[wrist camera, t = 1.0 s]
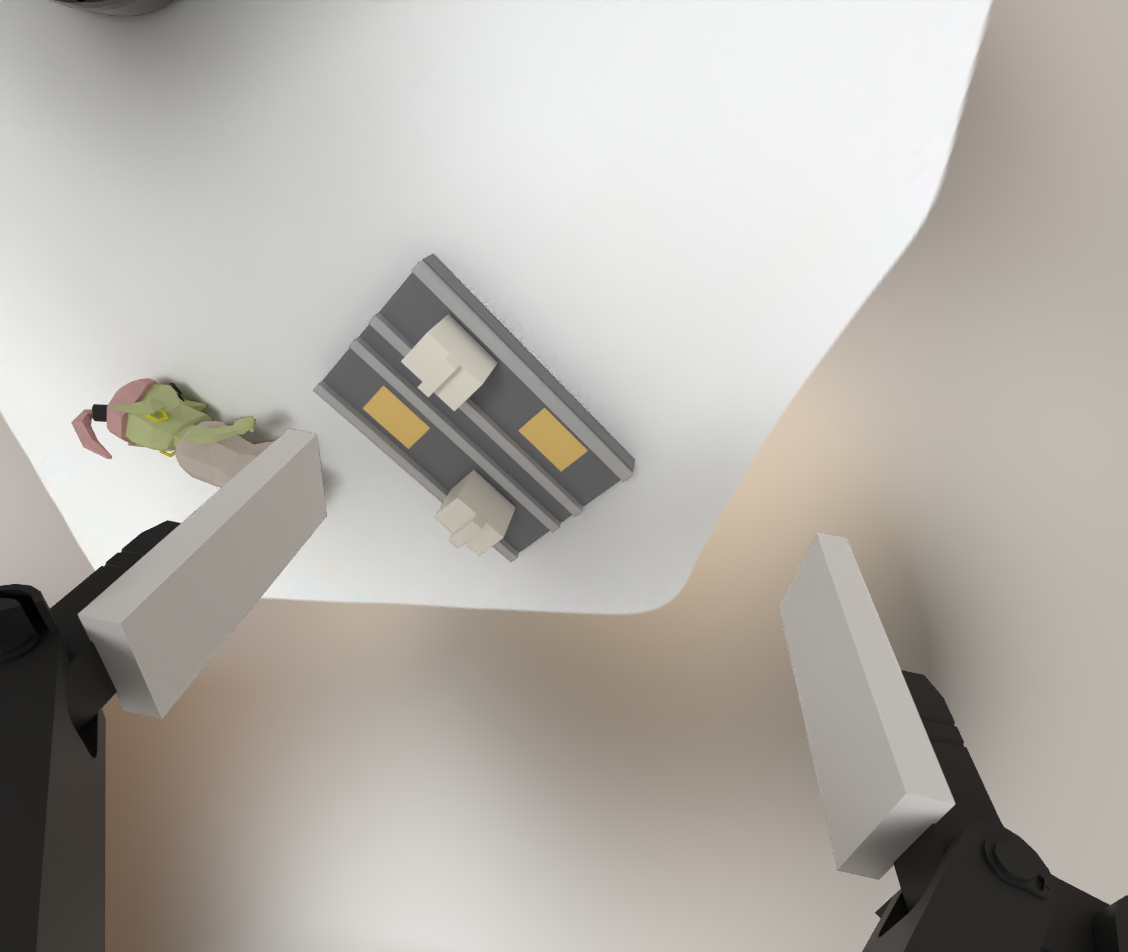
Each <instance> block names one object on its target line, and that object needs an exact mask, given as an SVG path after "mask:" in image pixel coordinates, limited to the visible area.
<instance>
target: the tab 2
mask: <svg viewBox="0 0 1128 952" xmlns="http://www.w3.org/2000/svg"><path fill="white" fill-rule="evenodd" d="M515 508H516V507H515V506H514V505H512V504H511V503H510V502H509V501H508V500H507V499H506V498H505V497H504V496H503V495H501V494H500V493H499V492H498V491H497V490H496V489H495V488H494V487H493V486H492V485H490V484H489V483H488V482H487V481H486V480H485V479H484V478H483V477H482V476H481V475H479V474H478V473H477V472H476V471H475V470H473V471H471V472H470V473H469V474H468V475H467V476H466V477H464V478H463V479H462V480H461V481H460V482H459V483H458V484H456V485H455V486H454V487H453V488H452V489H451V490H450V492H449V494H448V495H447V497H446V499H445V500H444V502H443V504H442V505H441V507H440V509H439V510H438V512H437V513H436V515H435V517H434V518H435V519H436V520H438V521H439V522H440V523H441V524H442V525H443V526H445V527H446V528H447V529H448V530H449V531H450V532H452V535H451V537H450V539H449V540H448V541H449V542H451V543H452V544H453V545H454V546H455V547H457V548H459V547H460V546H461V545H463V544H466V545H467V546H468V547H469V548H470V549H471V550H473V551H474V552H475V553H476V554H477V555H479V556H480V555H481V554H482V553H484V552H485V551H486V550H488V549H489V548H490V547H492V546H493V545H494V544H496V543H497V542H498V541H500V540H501V539H502V538H504V535H505V533H506V530H507V528H508V525H509V523H510V521H511V518H512V516H513V513H514V511H515Z"/></svg>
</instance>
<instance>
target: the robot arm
mask: <svg viewBox="0 0 1128 952" xmlns="http://www.w3.org/2000/svg"><path fill="white" fill-rule="evenodd" d="M50 1H53V2H55V3H58V4H61V5H64V6H68V7H71V8H76V9H81V10H87V11H92V12H97V13H103V14H108V15H114V16H136V15H143V14H147V13H151V12H153V11H156V10H158V9H160V8H162V7H164V6H166V5H168V4H169V3H171V2H172V1H174V0H50ZM326 516H327V512H326V504H325V496H324V487H323V479H322V471H321V463H320V455H319V446H318V438H317V434H314V433H309V432H304V431H299V430H294V429H288V430H287V431H286V432H285V433H284V434H282V435H281V436H280V437H279V438H278V439H277V440H276V441H274V442H273V443H272V444H271V445H270V446H269V447H268V448H266V449H265V450H264V451H263V452H262V453H261V454H260V455H259V456H257V457H256V458H255V459H254V460H253V461H252V462H251V463H249V464H248V465H247V466H246V467H245V468H244V469H243V470H241V471H240V472H239V473H238V474H237V475H236V476H235V477H233V478H232V479H231V480H230V481H229V482H228V483H227V484H225V485H224V486H223V487H222V488H221V489H220V490H219V491H217V492H216V493H215V494H214V495H213V496H212V497H211V498H209V499H208V500H207V501H206V502H205V503H204V504H203V505H202V506H200V507H199V508H198V509H197V510H196V511H195V512H194V513H192V514H191V515H190V516H189V517H188V518H187V519H186V520H184V521H183V522H182V523H178V522H173V521H168V520H167V521H165V522H163V523H161V524H159V525H157V526H155V527H153V528H151V529H149V530H146V531H144V532H142V533H141V534H140V535H138V536H137V537H136V538H135V539H133V540H132V541H131V542H130V543H129V544H127V545H126V546H125V547H124V548H123V549H122V552H121V553H117V554H115V555H114V556H113V557H112V558H111V559H109V560H108V561H107V562H106V565H105V566H101V567H100V568H99V569H97V570H96V571H95V572H94V573H92V574H91V575H90V576H89V577H88V578H86V579H85V580H84V581H83V582H82V583H81V584H79V585H78V586H77V587H76V588H74V589H73V590H72V591H71V592H70V593H68V594H67V595H66V596H65V597H64V598H62V599H61V600H60V601H59V602H58V603H56V604H55V605H54V606H53V607H52V608H49V607H48V605H47V603H46V601H45V599H44V597H43V595H42V593H41V591H39V590H37V589H36V588H34V587H32V586H29V585H21V584H11V585H3V586H0V952H105V746H106V744H105V740H106V739H105V738H106V736H105V735H106V731H105V730H106V719H105V716H104V713H103V710H102V707H103V706H104V705H105V704H106V703H107V702H108V701H109V700H110V698H111V697H112V696H113V695H114V694H115V693H116V694H117V696H118V698H119V700H120V702H121V704H122V706H123V708H124V710H125V711H127V712H131V713H136V714H140V715H145V716H150V717H154V718H158V719H162V718H163V717H164V716H165V715H166V714H167V712H168V711H169V710H170V709H171V707H172V706H173V705H174V704H175V703H176V701H177V700H178V699H179V698H180V696H181V695H182V694H183V693H184V691H185V690H186V689H187V688H188V686H189V685H190V684H191V683H192V681H193V680H194V679H195V678H196V677H197V675H198V674H199V673H200V672H201V670H202V669H203V668H204V667H205V666H206V664H207V663H208V662H209V661H210V659H211V658H212V657H213V656H214V654H215V653H216V652H217V651H218V649H219V648H220V647H221V646H222V645H223V643H224V642H225V641H226V640H227V638H228V637H229V636H230V635H231V633H232V632H233V631H234V630H235V628H236V627H237V626H238V625H239V624H240V622H241V621H242V620H243V619H244V617H245V616H246V615H247V614H248V612H249V611H250V610H251V609H252V608H253V606H254V605H255V604H256V603H257V601H258V600H259V599H260V598H261V597H262V595H263V594H264V593H265V592H266V590H267V589H268V588H269V587H270V585H271V584H272V583H273V582H274V581H275V579H276V578H277V577H278V576H279V574H280V573H281V572H282V571H283V569H284V568H285V567H286V566H287V565H288V563H289V562H290V561H291V560H292V558H293V557H294V556H295V555H296V553H297V552H298V551H299V550H300V548H301V547H302V546H303V545H304V544H305V542H306V541H307V540H308V539H309V537H310V536H311V535H312V534H313V532H314V531H315V530H316V529H317V528H318V526H319V525H320V524H321V523H322V521H323V520H324V519H325V518H326ZM779 609H780V614H781V618H782V623H783V628H784V632H785V637H786V641H787V646H788V650H789V655H790V659H791V664H792V669H793V673H794V678H795V682H796V686H797V691H798V696H799V700H800V705H801V709H802V714H803V718H804V723H805V727H806V732H807V736H808V741H809V745H810V750H811V754H812V759H813V763H814V768H815V773H816V777H817V781H818V786H819V791H820V795H821V799H822V804H823V809H824V813H825V818H826V822H827V827H828V831H829V836H830V840H831V845H832V849H833V854H834V858H835V863H836V868H837V870H838V871H842V872H847V873H851V874H856V875H860V876H865V877H869V878H874V879H878V880H879V879H880V878H881V877H882V876H883V875H884V874H885V873H886V872H887V871H888V870H889V869H890V868H891V867H892V866H893V865H894V866H895V870H896V873H897V876H898V880H899V883H900V887H901V889H900V890H899V891H898V892H897V893H896V894H895V895H894V896H893V897H892V898H890V899H889V900H888V901H887V902H886V903H885V904H884V905H883V906H882V907H881V908H880V909H878V910H877V911H876V912H875V913H876V914H877V915H878V916H879V917H880V918H881V919H880V921H879V923H878V924H877V926H876V928H875V930H874V932H873V933H872V935H871V937H870V939H869V941H868V942H867V944H866V946H865V948H864V949H863V951H862V952H1128V896H1125V897H1123V898H1121V899H1120V900H1118V901H1117V902H1115V903H1113V904H1112V905H1109V904H1107V903H1105V902H1103V901H1101V900H1099V899H1097V898H1095V897H1093V896H1091V895H1089V894H1087V893H1085V892H1084V891H1082V890H1080V889H1078V888H1076V887H1074V886H1072V885H1070V884H1068V883H1066V882H1064V881H1062V880H1060V879H1058V878H1057V877H1055V876H1053V875H1052V874H1050V872H1049V869H1048V868H1047V867H1046V865H1045V864H1044V862H1043V861H1042V860H1041V858H1040V857H1039V855H1038V854H1037V853H1036V852H1035V851H1034V850H1033V849H1032V848H1031V847H1030V846H1029V845H1028V844H1027V843H1026V842H1025V841H1024V840H1023V839H1022V838H1020V837H1019V836H1018V835H1016V834H1014V833H1013V832H1011V831H1010V830H1008V829H1006V828H1005V827H1004V826H1003V825H1002V823H1001V821H1000V819H999V817H998V815H997V813H996V810H995V808H994V806H993V804H992V802H991V800H990V797H989V795H988V793H987V791H986V789H985V787H984V784H983V782H982V780H981V778H980V776H979V774H978V771H977V769H976V767H975V765H974V763H973V761H972V758H971V756H970V754H969V752H968V750H967V748H966V747H964V745H963V743H964V741H963V739H962V737H961V735H960V732H959V730H958V728H957V727H955V726H954V723H955V722H954V720H953V717H952V715H951V713H950V711H949V709H948V707H947V704H946V703H945V700H944V698H943V697H942V696H941V695H940V693H939V692H938V691H937V690H936V689H935V687H934V686H933V685H932V684H931V683H930V681H928V679H927V678H926V677H925V676H924V675H921V674H916V673H912V672H907V671H903V670H900V667H899V665H898V662H897V660H896V657H895V655H894V653H893V650H892V648H891V645H890V643H889V640H888V638H887V635H886V633H885V631H884V628H883V626H882V623H881V621H880V618H879V616H878V613H877V611H876V608H875V606H874V604H873V601H872V599H871V596H870V594H869V591H868V589H867V587H866V584H865V582H864V579H863V577H862V574H861V572H860V570H859V567H858V565H857V562H856V560H855V557H854V555H853V552H852V550H851V548H850V545H849V543H848V540H847V538H844V537H839V536H834V535H829V534H823V533H819V532H816V534H815V535H814V537H813V539H812V541H811V544H810V546H809V548H808V550H807V552H806V554H805V556H804V558H803V560H802V562H801V564H800V566H799V568H798V570H797V572H796V574H795V576H794V578H793V580H792V582H791V584H790V586H789V588H788V590H787V592H786V594H785V597H784V598H783V601H782V603H781V605H780V607H779Z"/></svg>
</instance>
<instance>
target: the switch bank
mask: <svg viewBox="0 0 1128 952" xmlns="http://www.w3.org/2000/svg"><path fill="white" fill-rule="evenodd" d="M448 314H449V315H450V316H451V317H452V318H453V319H454V320H455V321H456V322H457V323H458V324H459V325H460V326H461V327H462V328H463V329H464V330H465V331H466V332H468V333H469V334H470V335H471V336H472V337H473V338H474V339H475V340H476V341H477V342H478V343H479V344H480V345H481V346H482V347H483V348H484V349H485V350H486V351H487V352H488V353H489V354H490V355H491V356H492V357H493V358H494V359H495V360H496V361H497V362H498V363H497V365H496V366H495V368H494V369H493V370H492V372H491V373H490V374H489V376H488V377H487V379H486V380H485V381H484V383H483V384H482V385H481V386H480V387H479V388H478V389H477V390H476V391H475V392H474V393H473V394H472V395H471V396H470V397H469V398H468V399H467V400H466V401H465V402H464V403H463V404H462V405H460V406H459V407H458V408H457V409H456V410H455V411H453V410H452V409H451V408H450V407H449V406H448V405H447V404H446V403H445V402H444V401H443V400H441V399H440V398H439V397H438V396H437V395H436V394H435V393H434V392H433V393H432V394H431V395H430V396H429V397H427V396H426V395H425V394H424V393H423V392H422V391H421V390H420V389H419V388H417V387H418V386H419V385H420V384H421V383H422V381H421V380H420V379H419V378H418V377H417V376H416V375H415V374H414V373H413V372H411V371H410V370H409V369H408V368H407V367H406V366H405V365H404V364H403V363H402V362H401V361H402V360H403V359H404V357H405V356H406V355H407V354H408V353H409V352H410V351H411V350H412V349H413V348H414V346H415V345H416V344H417V343H418V342H419V341H420V340H421V339H422V338H423V336H424V335H425V334H426V333H427V332H428V331H429V330H431V329H432V328H433V327H434V326H435V325H436V324H437V323H439V322H440V321H441V320H442V319H443V318H444V317H446V316H447V315H448ZM349 347H350V348H349V350H348V351H347V352H346V353H345V354H344V356H343V357H342V358H341V359H340V360H339V362H338V363H337V364H336V365H335V366H334V368H333V369H332V370H331V371H330V373H329V374H328V375H327V376H326V377H325V379H324V380H323V381H321V382H320V383H319V384H318V385H317V386H316V387H315V388H314V390H313V391H314V392H315V393H316V394H318V395H319V396H320V397H321V398H322V399H323V400H324V401H326V402H327V403H328V404H329V405H330V406H331V407H333V408H334V409H335V410H336V411H337V412H338V413H339V414H341V415H342V416H343V417H344V418H345V419H346V420H348V421H349V422H350V423H351V424H352V425H353V426H354V427H356V428H357V429H358V430H359V431H360V432H361V433H363V434H364V435H365V436H366V437H367V438H368V439H369V440H371V441H372V442H373V443H374V444H375V445H376V446H377V447H379V448H380V449H381V450H382V451H383V452H384V453H386V454H387V455H388V456H389V457H390V458H391V459H392V460H394V461H395V462H396V463H397V464H398V465H399V466H401V467H402V468H403V469H404V470H405V471H406V472H407V473H409V474H410V475H411V476H412V477H413V478H414V479H416V480H417V481H418V482H419V483H420V484H421V485H422V486H424V487H425V488H426V489H427V490H428V491H429V492H430V493H432V494H433V495H434V496H435V497H436V498H437V499H439V500H440V501H441V502H442V503H443V502H444V500H445V499H446V497H447V495H448V494H449V492H450V490H451V489H452V488H453V487H454V486H455V485H456V484H458V483H459V482H460V481H461V480H462V479H463V478H464V477H466V476H467V475H468V474H469V473H470V472H471V471H473V470H475V471H476V472H477V473H478V474H479V475H481V476H482V477H483V478H484V479H485V480H486V481H487V482H488V483H489V484H490V485H492V486H493V487H494V488H495V489H496V490H497V491H498V492H499V493H500V494H501V495H503V496H504V497H505V498H506V499H507V500H508V501H509V502H510V503H511V504H512V505H514V506H515V507H516V508H515V511H514V513H513V516H512V518H511V521H510V523H509V525H508V528H507V530H506V533H505V535H504V538H502V539H501V540H500V541H498V542H497V543H496V544H494V545H493V547H494V548H495V549H496V550H497V551H498V552H500V553H501V554H502V555H503V556H504V557H505V558H507V559H508V560H509V561H510V562H512V561H513V560H515V559H516V558H517V557H518V554H519V552H521V551H522V550H523V549H525V548H526V547H528V546H529V545H530V544H532V543H533V542H535V541H536V540H537V539H539V538H540V537H542V536H543V535H544V534H546V533H547V532H549V531H551V532H552V533H553V532H554V531H556V530H557V529H558V528H560V524H561V522H563V521H564V520H565V519H567V518H568V517H569V516H571V515H573V516H577V515H578V514H579V513H581V512H582V510H583V506H585V505H586V504H588V503H589V502H590V501H592V500H593V499H595V498H596V497H597V496H599V495H600V494H602V493H603V492H604V491H606V490H607V489H609V488H610V487H611V486H613V485H614V484H616V483H617V482H618V481H620V480H622V481H623V482H624V481H626V480H627V479H629V478H630V477H631V476H632V471H633V469H634V461H635V459H634V458H633V457H632V456H631V455H630V454H629V453H628V452H627V451H626V450H625V449H624V448H623V447H622V446H621V445H620V444H619V443H618V442H617V441H616V440H615V439H614V438H613V437H612V436H611V435H610V434H609V433H608V432H607V431H606V430H605V429H604V428H603V427H602V426H601V425H600V424H599V423H598V422H597V421H596V420H595V418H594V417H593V416H592V415H591V414H590V413H589V412H588V411H587V410H586V409H585V408H584V407H583V406H582V405H581V404H580V403H579V402H578V401H577V400H576V399H575V398H574V397H573V396H572V395H571V394H570V393H569V392H568V391H567V390H566V389H565V388H564V387H563V386H562V385H561V384H560V383H559V382H558V381H557V380H556V379H555V378H554V377H553V376H552V375H551V374H550V373H549V372H548V371H547V370H546V368H545V367H544V366H543V365H542V364H541V363H540V362H539V361H538V360H537V359H536V358H535V357H534V356H533V355H532V354H531V353H530V352H529V351H528V350H527V349H526V348H525V347H524V346H523V345H522V344H521V343H520V342H519V341H518V340H517V339H516V338H515V337H514V336H513V335H512V334H511V333H510V332H509V331H508V330H507V329H506V328H505V327H504V326H503V325H502V324H501V323H500V322H499V321H498V320H497V318H496V317H495V316H494V315H493V314H492V313H491V312H490V311H489V310H488V309H487V308H486V307H485V306H484V305H483V304H482V303H481V302H480V301H479V300H478V299H477V298H476V297H475V296H474V295H473V294H472V293H471V292H470V291H469V290H468V289H467V288H466V287H465V286H464V285H463V284H462V283H461V282H460V281H459V280H458V279H457V278H456V277H455V276H454V275H453V274H452V273H451V272H450V271H449V269H448V268H447V267H446V266H445V265H444V264H443V263H442V262H441V261H440V260H439V259H438V258H437V257H436V256H435V255H434V254H431V255H430V256H428V257H426V258H424V259H423V260H422V261H420V262H418V264H417V265H416V266H415V267H414V269H413V270H412V273H411V275H410V276H409V277H408V278H407V280H406V281H405V282H404V283H403V284H402V286H401V287H400V288H399V289H398V290H397V292H396V293H395V294H394V295H393V296H392V298H391V299H390V300H389V301H388V302H387V304H386V305H385V306H384V307H383V309H382V310H381V311H380V312H379V313H378V314H376V315H375V316H374V317H373V318H372V319H371V321H370V322H369V325H368V327H367V328H366V329H365V330H364V331H363V333H362V334H361V335H360V336H359V337H358V338H356V339H355V340H354V341H353V342H352V344H351V345H350V346H349Z"/></svg>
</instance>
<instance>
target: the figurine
mask: <svg viewBox="0 0 1128 952" xmlns="http://www.w3.org/2000/svg"><path fill="white" fill-rule="evenodd" d="M181 394H182V393H181V392H180V390H179V389H178V388H177V387H176V385H175V384H174V383H170V384H169V385H159V384H157V383H156V381H155V380H152V379H139V380H136V381H134V382H131V383H128V384H126V385H125V386H123V387H122V388H120V389H119V390H118V391H117V392H116V394H115V395H114V397H113V398H112V400H111V401H110V403H109V404H108V405H97V404H94V405H93V407H92V410H84V411H83V412H82V413H81V414H80V415H79V416H78V417H77V418H76V419H74V420H73V421H72V422H71V423H72V425H73V427H74V429H75V431H76V433H77V435H78V437H79V439H80V441H81V443H82V445H83V447H84V448H86V449H88V450H90V451H92V452H94V453H97V454H99V455H101V456H103V457H105V458H107V459H112V456H111V455H110V453H109V452H108V451H107V450H106V449H105V448H104V447H103V446H102V445H101V444H100V442H99V441H98V440H97V438H96V436H95V433H94V431H93V429H92V427H91V420H92V418H93V419H94V420H95V421H102V422H107V428H108V429H109V431H110V432H111V433H113V434H114V435H116V436H118V437H119V438H121V439H123V440H125V441H127V442H129V444H128V445H129V446H139V447H147V448H151V449H155V450H159V451H160V453H162V454H164V455H166V456H169V457H172V456H173V455H175V454H176V457H177V460H178V462H179V465H180V466H181V467H182V468H183V469H184V470H185V471H186V472H187V473H188V474H189V475H191V476H192V477H193V478H196V479H199V480H201V481H204V482H207V483H209V484H212V485H215V486H218V487H220V488H222V487H223V486H224V485H225V484H227V483H228V482H229V481H230V480H231V479H232V478H233V477H235V476H236V475H237V474H238V473H239V472H240V471H241V470H243V469H244V468H245V467H246V466H247V465H248V464H249V463H251V462H252V461H253V460H254V459H255V458H256V457H257V456H259V455H260V454H261V453H262V452H263V451H264V450H265V449H266V448H268V447H269V446H270V445H271V444H272V443H273V442H274V441H272V442H263V443H258V444H252V443H250V442H248V441H246V440H245V439H243V438H242V437H241V436H239V435H243V434H246V432H247V431H250V432H253V431H254V426H255V424H256V419H255V418H254V417H253V416H248V417H240V419H236V420H235V422H234V424H233V425H230V426H227V425H226V424H225V423H224V422H218V421H211V420H212V418H210V417H209V416H208V415H207V414H205V413H202V412H201V411H202V410H203V409H205V408H206V407H207V405H208V404H206V403H201V402H195V401H190V400H185V399H184V398H183V397H182V396H181ZM174 450H176V451H174ZM165 451H174V452H173V453H171V454H169V453H167V452H165Z"/></svg>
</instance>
